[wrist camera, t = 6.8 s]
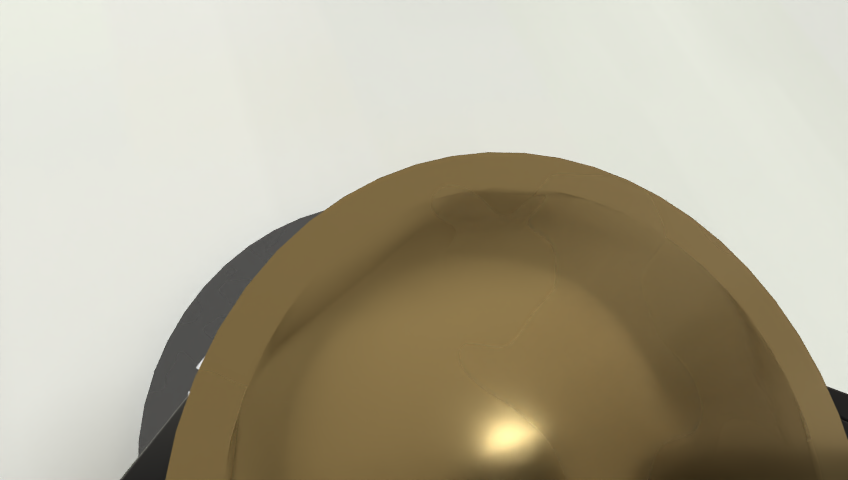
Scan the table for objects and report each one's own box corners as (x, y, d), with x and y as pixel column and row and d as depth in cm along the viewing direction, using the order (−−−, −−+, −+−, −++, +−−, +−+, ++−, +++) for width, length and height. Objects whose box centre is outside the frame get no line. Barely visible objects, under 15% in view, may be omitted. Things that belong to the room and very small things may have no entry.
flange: (645, 588, 16) (695, 620, 14) (164, 777, 13) (125, 863, 10) (523, 190, 21) (547, 164, 19) (139, 243, 17) (108, 220, 15)
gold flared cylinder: (477, 508, 15) (988, 917, 3) (295, 518, 14) (57, 1166, 2) (469, 329, 17) (771, 172, 5) (308, 327, 16) (219, 128, 4)
